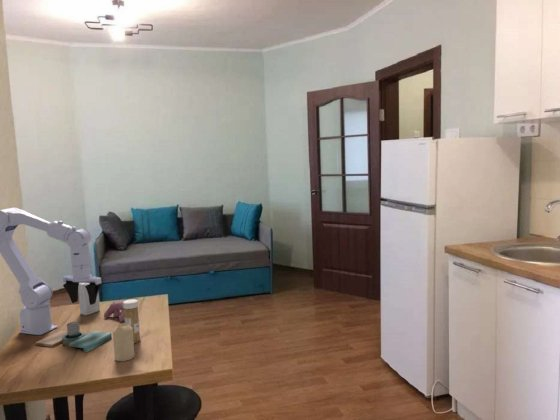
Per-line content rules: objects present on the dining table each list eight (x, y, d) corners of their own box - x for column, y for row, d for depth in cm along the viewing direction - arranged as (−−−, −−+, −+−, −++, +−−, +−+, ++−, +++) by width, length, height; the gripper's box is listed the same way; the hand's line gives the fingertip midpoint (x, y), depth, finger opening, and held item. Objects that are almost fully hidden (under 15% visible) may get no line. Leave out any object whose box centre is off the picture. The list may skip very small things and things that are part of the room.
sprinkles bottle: (142, 341, 148) (139, 301, 146) (127, 345, 145) (125, 304, 144) (138, 337, 151) (135, 297, 150) (124, 340, 149) (121, 300, 147)
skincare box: (93, 309, 182) (90, 279, 180) (100, 311, 179) (98, 280, 178) (79, 314, 176) (76, 283, 175) (86, 315, 174) (84, 284, 173)
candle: (123, 363, 133) (121, 329, 131) (110, 359, 135) (108, 326, 134) (138, 355, 137) (136, 323, 136) (126, 352, 140) (123, 320, 139)
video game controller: (129, 323, 169) (135, 304, 171) (120, 321, 165) (126, 302, 167) (111, 319, 174) (116, 301, 176) (101, 317, 170) (107, 298, 172)
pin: (65, 343, 148) (64, 325, 148) (73, 338, 152) (72, 321, 151) (75, 344, 147) (73, 326, 147) (82, 339, 151) (81, 322, 150)
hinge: (35, 344, 148) (34, 338, 147) (61, 332, 158) (61, 326, 158) (88, 351, 141) (87, 345, 141) (111, 338, 151) (111, 332, 151)
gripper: (106, 262, 159) (108, 301, 161) (72, 261, 164) (75, 298, 165) (91, 267, 152) (94, 307, 154) (57, 265, 157) (60, 304, 158)
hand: (83, 303), depth 159 cm, fingers open, 7 cm apart
